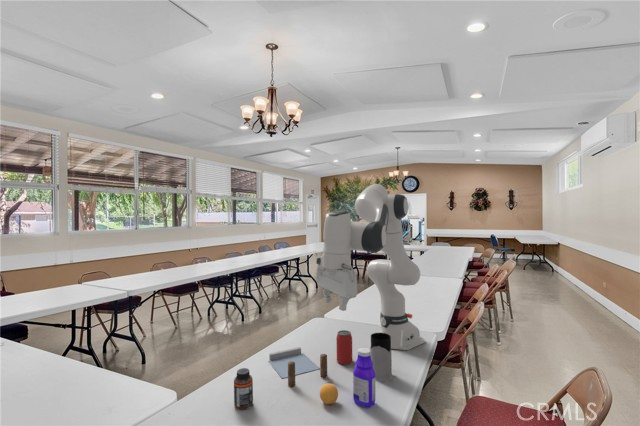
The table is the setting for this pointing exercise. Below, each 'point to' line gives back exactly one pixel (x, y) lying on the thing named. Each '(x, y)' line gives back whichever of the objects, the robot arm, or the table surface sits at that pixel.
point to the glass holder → (381, 356)
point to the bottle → (364, 379)
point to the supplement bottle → (243, 389)
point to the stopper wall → (284, 353)
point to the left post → (291, 374)
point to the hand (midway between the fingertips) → (335, 306)
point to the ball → (328, 393)
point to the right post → (323, 366)
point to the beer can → (344, 347)
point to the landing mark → (301, 365)
